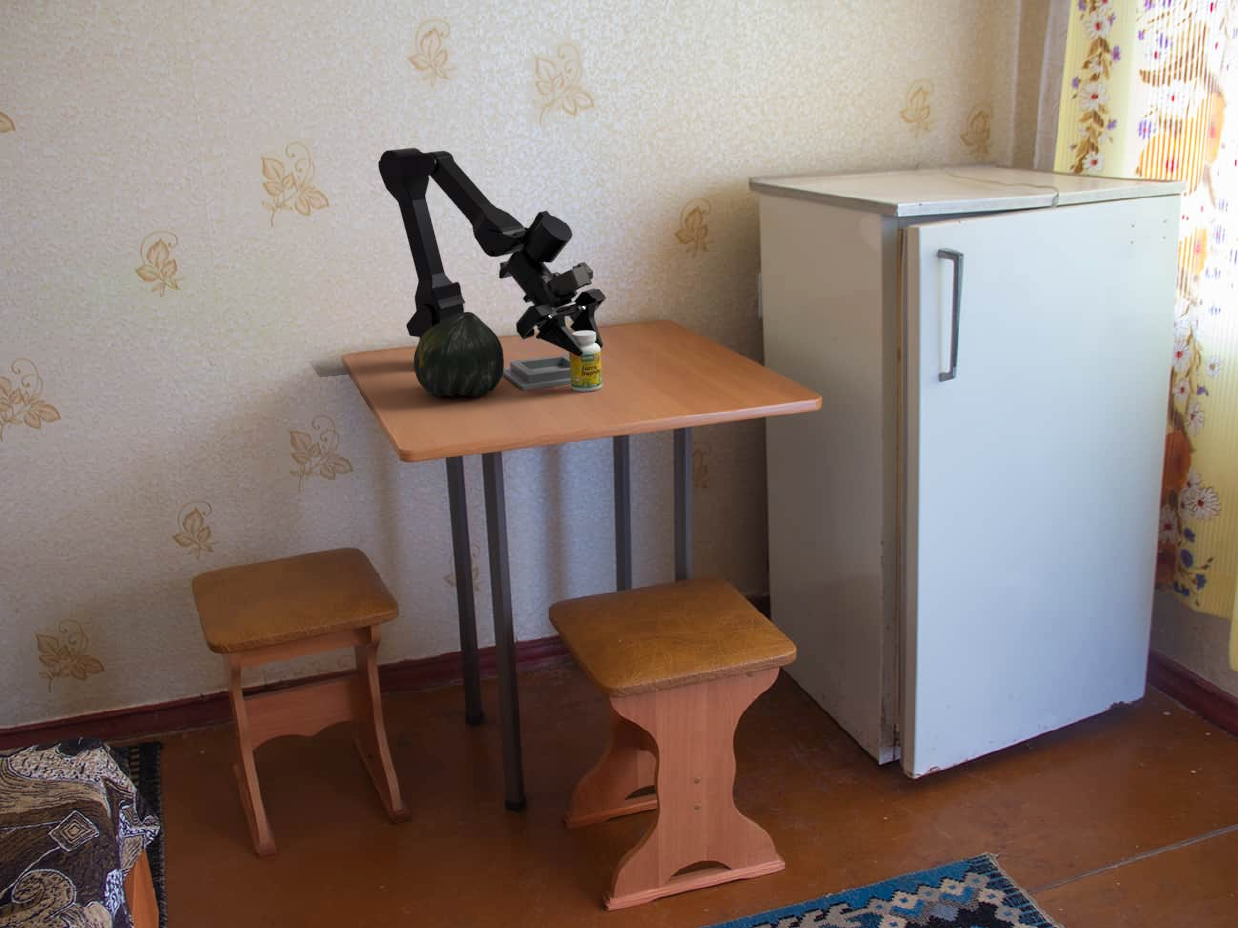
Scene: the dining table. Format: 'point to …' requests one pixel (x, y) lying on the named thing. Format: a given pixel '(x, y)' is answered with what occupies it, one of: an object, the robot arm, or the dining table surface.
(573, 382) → the supplement bottle
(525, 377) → the tray
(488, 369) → the squash
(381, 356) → the dining table surface
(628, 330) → the dining table surface
